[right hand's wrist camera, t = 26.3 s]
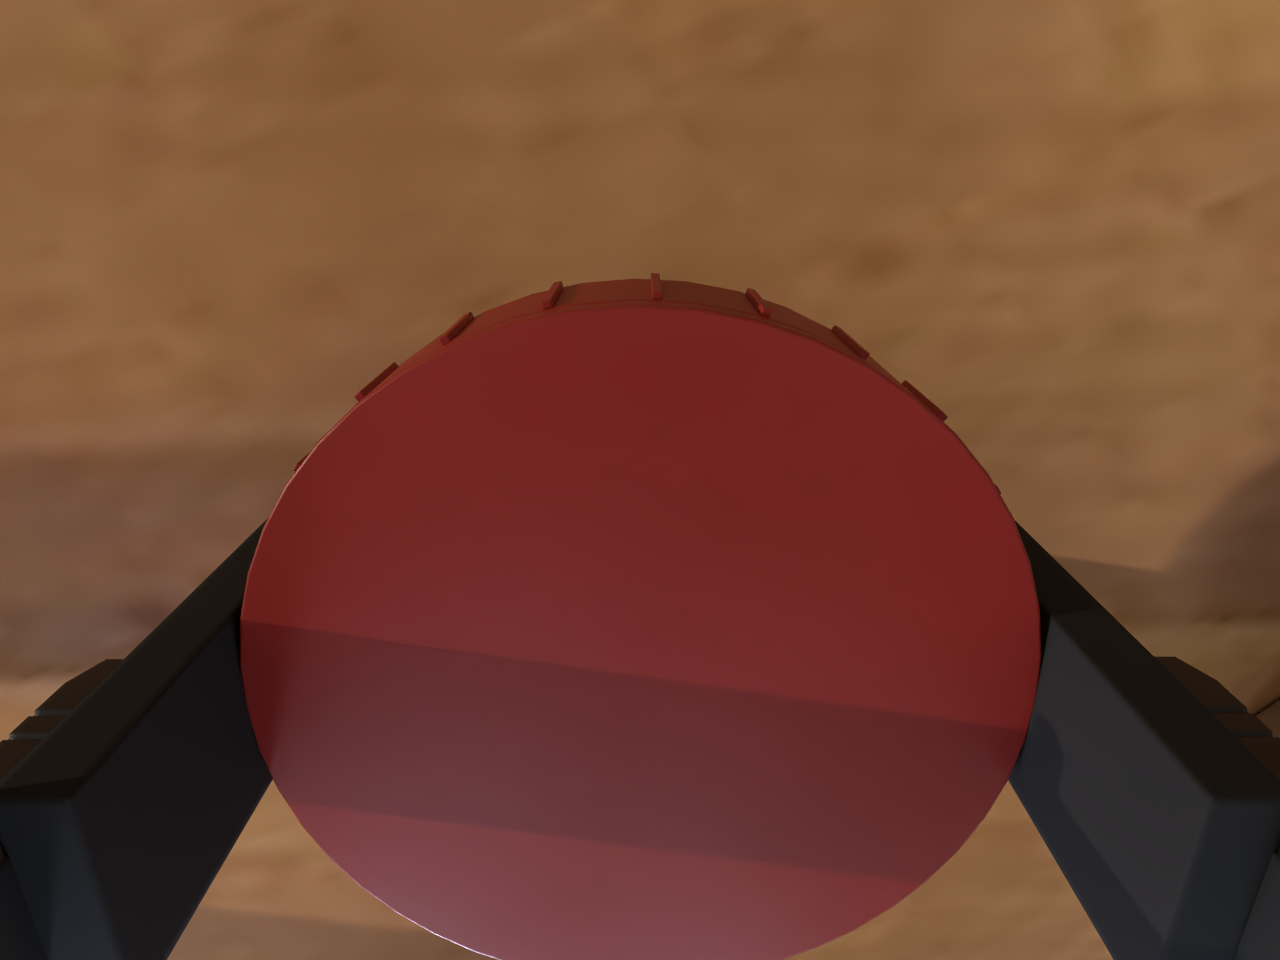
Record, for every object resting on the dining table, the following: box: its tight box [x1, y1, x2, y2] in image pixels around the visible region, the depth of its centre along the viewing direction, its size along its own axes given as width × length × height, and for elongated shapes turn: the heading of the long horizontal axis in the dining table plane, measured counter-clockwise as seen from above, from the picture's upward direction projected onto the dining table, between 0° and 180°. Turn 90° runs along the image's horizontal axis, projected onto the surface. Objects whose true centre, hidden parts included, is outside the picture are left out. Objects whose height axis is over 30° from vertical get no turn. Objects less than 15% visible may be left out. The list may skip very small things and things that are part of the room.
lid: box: [240, 273, 1042, 960], centre depth 11 cm, size 10×10×2 cm
